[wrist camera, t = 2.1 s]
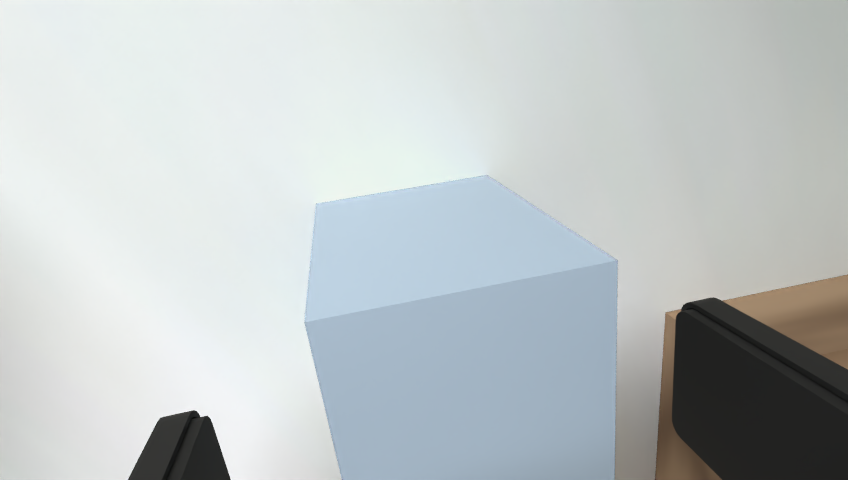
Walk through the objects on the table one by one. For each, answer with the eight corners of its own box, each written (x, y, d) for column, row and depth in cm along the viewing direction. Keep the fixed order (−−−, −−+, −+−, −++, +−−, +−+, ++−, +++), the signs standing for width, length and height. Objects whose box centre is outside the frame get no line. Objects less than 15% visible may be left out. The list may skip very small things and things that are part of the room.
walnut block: (659, 308, 18) (748, 371, 14) (916, 254, 19) (1060, 299, 15) (646, 530, 21) (713, 627, 18) (861, 471, 23) (965, 549, 19)
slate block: (316, 203, 14) (304, 321, 7) (486, 175, 14) (617, 260, 8) (347, 354, 15) (361, 560, 9) (499, 323, 16) (614, 494, 10)
